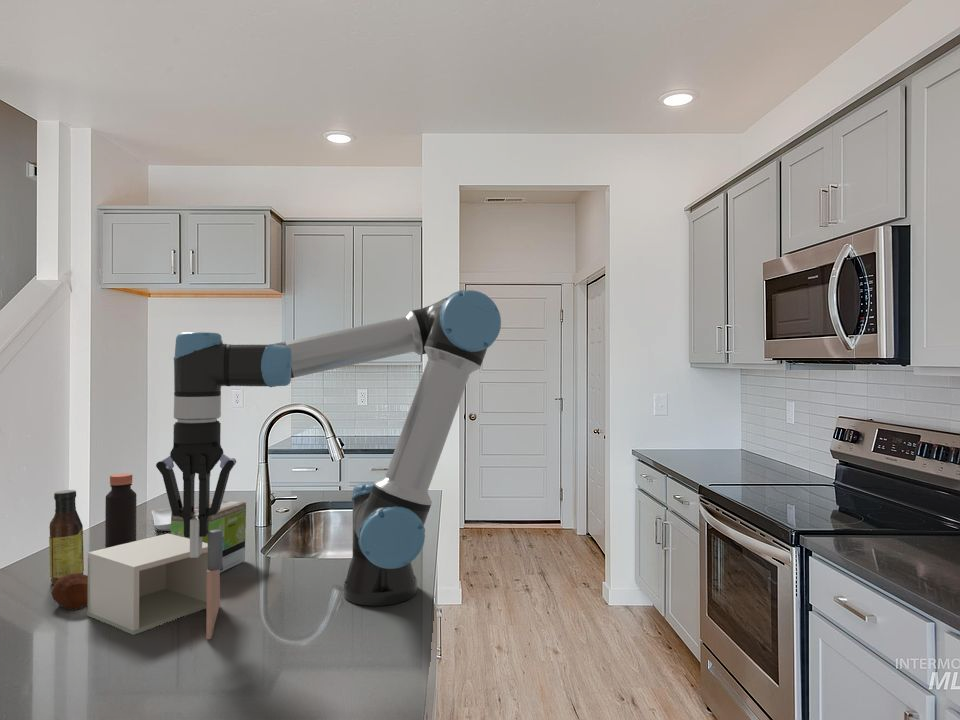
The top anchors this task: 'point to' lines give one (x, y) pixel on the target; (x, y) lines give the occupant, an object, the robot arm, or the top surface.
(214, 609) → the side door
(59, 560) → the sauce bottle
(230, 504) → the tea box
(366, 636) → the top surface
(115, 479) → the vinegar
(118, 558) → the case
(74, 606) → the potato
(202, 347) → the robot arm
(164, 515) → the salad plate
